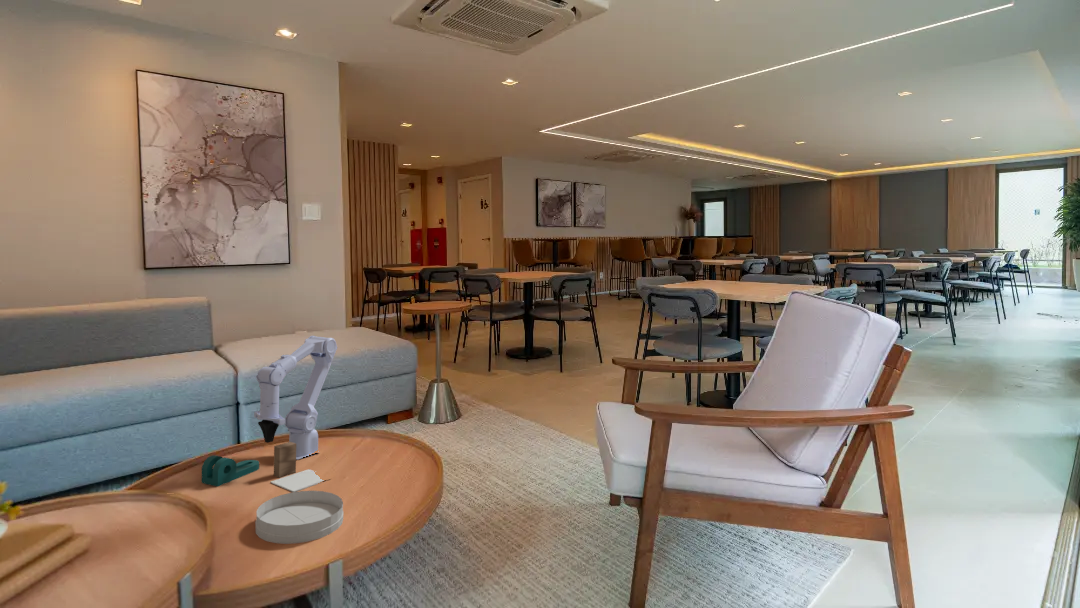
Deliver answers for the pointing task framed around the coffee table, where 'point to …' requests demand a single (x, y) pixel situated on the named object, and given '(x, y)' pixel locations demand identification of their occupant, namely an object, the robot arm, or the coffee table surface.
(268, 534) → the dish
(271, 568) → the coffee table surface
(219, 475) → the bracket
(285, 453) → the walnut block
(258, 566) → the coffee table surface
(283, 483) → the grey mat
